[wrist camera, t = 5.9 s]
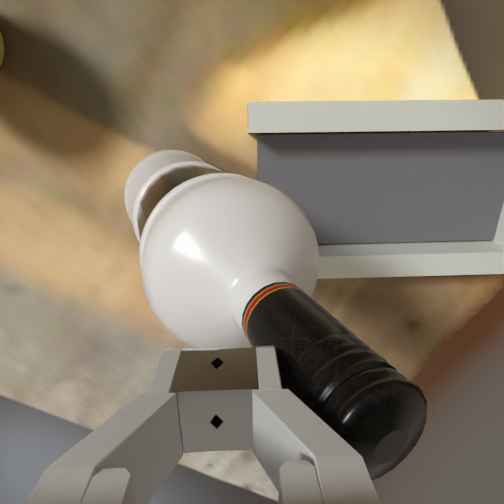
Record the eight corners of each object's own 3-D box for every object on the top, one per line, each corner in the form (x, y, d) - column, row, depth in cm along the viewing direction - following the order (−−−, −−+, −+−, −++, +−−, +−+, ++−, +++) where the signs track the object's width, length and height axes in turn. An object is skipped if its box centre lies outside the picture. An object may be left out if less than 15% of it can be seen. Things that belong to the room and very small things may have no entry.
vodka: (142, 132, 30) (317, 113, 4) (229, 171, 34) (603, 295, 8) (111, 223, 31) (70, 677, 5) (198, 250, 36) (420, 574, 9)
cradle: (247, 105, 31) (248, 100, 27) (548, 102, 32) (601, 97, 28) (249, 265, 37) (251, 284, 33) (504, 259, 38) (541, 276, 34)
